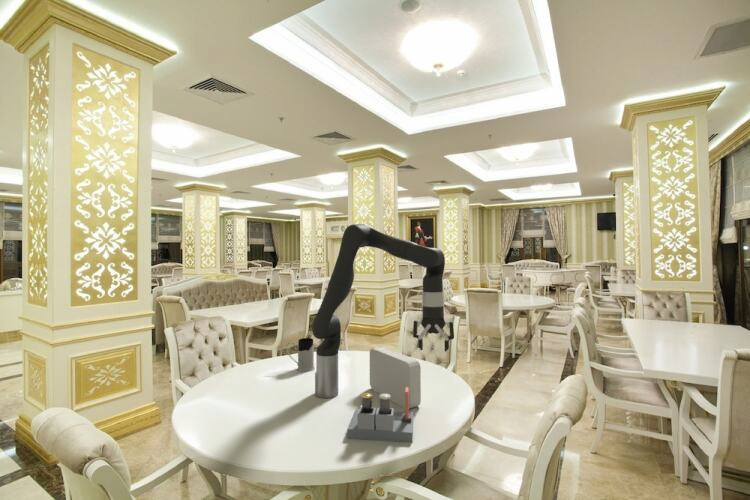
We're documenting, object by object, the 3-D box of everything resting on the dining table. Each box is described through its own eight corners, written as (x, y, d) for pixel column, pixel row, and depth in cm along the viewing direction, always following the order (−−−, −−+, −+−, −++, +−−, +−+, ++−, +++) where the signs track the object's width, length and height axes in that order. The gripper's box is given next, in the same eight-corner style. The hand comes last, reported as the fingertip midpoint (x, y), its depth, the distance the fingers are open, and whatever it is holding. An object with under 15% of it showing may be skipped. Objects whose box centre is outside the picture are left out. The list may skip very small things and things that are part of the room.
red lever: (402, 421, 127) (402, 391, 127) (402, 415, 132) (402, 387, 132) (411, 421, 127) (411, 392, 127) (411, 416, 131) (411, 387, 131)
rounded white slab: (425, 406, 148) (425, 360, 148) (410, 411, 144) (409, 363, 144) (383, 384, 172) (383, 345, 172) (369, 388, 167) (369, 347, 167)
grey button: (379, 413, 123) (379, 397, 123) (380, 408, 126) (380, 393, 126) (390, 413, 122) (390, 398, 122) (390, 409, 126) (390, 393, 126)
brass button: (360, 412, 123) (360, 396, 123) (362, 407, 127) (362, 392, 127) (371, 412, 123) (371, 397, 123) (373, 408, 127) (372, 393, 127)
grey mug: (313, 371, 190) (312, 341, 190) (284, 371, 190) (284, 341, 190) (315, 366, 199) (315, 337, 199) (288, 366, 199) (288, 337, 199)
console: (347, 438, 123) (347, 413, 123) (355, 417, 138) (355, 395, 138) (412, 442, 120) (412, 416, 120) (413, 420, 135) (413, 398, 135)
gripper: (411, 305, 132) (412, 352, 132) (453, 306, 128) (453, 354, 128) (414, 302, 139) (415, 346, 139) (453, 303, 136) (454, 348, 136)
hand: (433, 350), depth 134 cm, fingers open, 8 cm apart
